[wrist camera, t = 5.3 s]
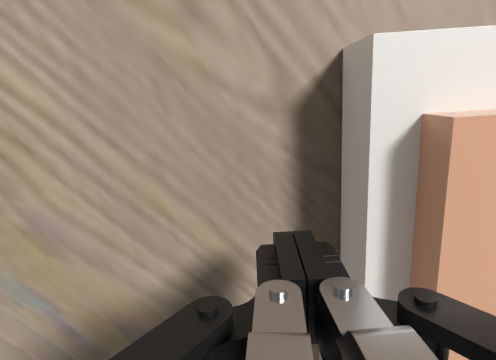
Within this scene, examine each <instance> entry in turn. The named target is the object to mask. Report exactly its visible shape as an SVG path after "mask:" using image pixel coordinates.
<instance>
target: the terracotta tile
mask: <svg viewBox="0 0 496 360" xmlns="http://www.w3.org/2000/svg"><path fill="white" fill-rule="evenodd" d="M411 287H419V288H426V289H430V290H433V291H436V292H438V293H441V294H443V295H446V296H448V297H450V298H453V299H455V300H458V301H460V302H463V303H465V304H467V305H470V306H472V307H475V308H477V309H480V310H482V311H484V312H487V313H489V314H492V315H494V316H496V109H488V110H473V111H457V112H441V113H425V114H423V115H422V129H421V142H420V155H419V169H418V182H417V195H416V208H415V222H414V235H413V248H412V261H411V275H410V288H411ZM448 360H469V359H467V358H465V357H463V356H461V355H460V354H458V353H456V352H454V351H452V350H449V358H448Z"/></svg>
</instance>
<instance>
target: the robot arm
mask: <svg viewBox="0 0 496 360" xmlns="http://www.w3.org/2000/svg"><path fill="white" fill-rule="evenodd" d="M256 261H257V283H258V288H257V289H256V293H255V297H254V298H253V299H251V300H250V301H248V302H247V303H245V304H242V305H239V306H235V307H232V305H231V303H230V302H229V301H228V300H226V299H225V298H222V297H218V296H208V297H202V298H199V299H197V300H195V301H193V302H191V303H190V304H188V305H187V306H186V307H184V308H183V309H181V310H180V311H178V312H177V313H176V314H174V315H173V316H171V317H170V318H168V319H167V320H165V321H164V322H163V323H161V324H160V325H158V326H157V327H155V328H154V329H152V330H151V331H150V332H148V333H147V334H145V335H144V336H142V337H141V338H139V339H138V340H137V341H135V342H134V343H132V344H131V345H129V346H128V347H126V348H125V349H124V350H122V351H121V352H119V353H118V354H116V355H115V356H114V357H112V358H111V359H109V360H314V359H313V352H312V345H311V344H318V346H319V360H448V358H449V350H452V351H454V352H456V353H458V354H460V355H461V356H463V357H465V358H467V359H469V360H496V316H494V315H492V314H489V313H487V312H484V311H482V310H480V309H477V308H475V307H472V306H470V305H467V304H465V303H463V302H460V301H458V300H455V299H453V298H450V297H448V296H446V295H443V294H441V293H438V292H436V291H433V290H430V289H426V288H419V287H411V288H406V289H403V290H402V291H400V292H399V294H398V301H394V300H387V299H381V298H376V297H373V296H371V294H370V293H369V292H368V290H367V289H366V287H365V286H364V285H363V284H361V283H360V282H358V281H356V280H354V279H351V278H350V276H349V274H348V272H347V271H346V269H345V267H344V265H343V263H342V262H341V260H340V258H339V256H338V254H337V252H336V251H335V249H334V247H332V246H331V245H329V244H328V243H326V242H316V241H315V238H314V236H313V234H312V232H311V230H309V231H292V232H291V231H290V232H273V244H270V245H261V246H260V247H259V248H258V250H257V251H256Z"/></svg>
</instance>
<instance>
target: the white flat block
mask: <svg viewBox="0 0 496 360" xmlns="http://www.w3.org/2000/svg"><path fill="white" fill-rule="evenodd" d="M488 109H496V25H492V26H477V27H463V28H448V29H433V30H419V31H404V32H389V33H374V34H372V35H370V36H367V37H365V38H363V39H361V40H359V41H357V42H355V43H353V44H351V45H349V46H347V47H344V48H343V91H342V172H341V253H340V260H341V262H342V263H343V265H344V267H345V269H346V271H347V272H348V274H349V276H350V278H351V279H354V280H356V281H358V282H360V283H361V284H363V285H364V286H365V287H366V289H367V290H368V292H369V293H370V294H371V296H373V297H376V298H381V299H387V300H394V301H398V294H399V292H400V291H402V290H403V289H406V288H410V275H411V261H412V248H413V235H414V222H415V208H416V195H417V182H418V169H419V155H420V142H421V129H422V115H423V114H425V113H441V112H457V111H473V110H488Z"/></svg>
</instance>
